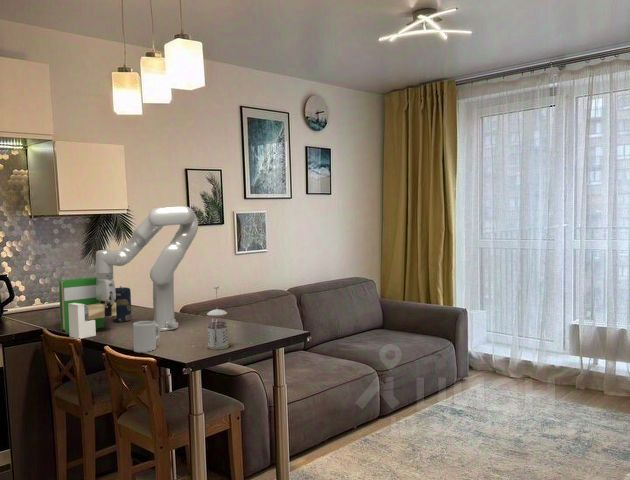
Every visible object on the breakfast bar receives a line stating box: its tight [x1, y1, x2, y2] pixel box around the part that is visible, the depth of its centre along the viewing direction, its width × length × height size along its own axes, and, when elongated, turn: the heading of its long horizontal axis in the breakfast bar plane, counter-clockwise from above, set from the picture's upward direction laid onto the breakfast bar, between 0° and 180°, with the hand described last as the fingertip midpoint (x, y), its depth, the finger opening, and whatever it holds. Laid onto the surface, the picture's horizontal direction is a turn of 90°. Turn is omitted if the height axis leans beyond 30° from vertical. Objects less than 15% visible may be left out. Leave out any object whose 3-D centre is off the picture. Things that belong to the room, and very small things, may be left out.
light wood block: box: [80, 302, 116, 320], centre depth 250 cm, size 4×16×7 cm, turn 143°
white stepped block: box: [68, 303, 97, 340], centre depth 244 cm, size 8×8×15 cm
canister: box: [111, 285, 133, 323], centre depth 279 cm, size 10×10×18 cm
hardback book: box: [58, 276, 105, 334], centre depth 261 cm, size 18×7×24 cm, turn 131°
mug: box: [132, 320, 161, 353], centre depth 218 cm, size 12×8×11 cm
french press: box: [206, 285, 229, 347], centre depth 218 cm, size 10×12×25 cm
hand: (105, 315), depth 253 cm, fingers closed on light wood block, 4 cm apart
